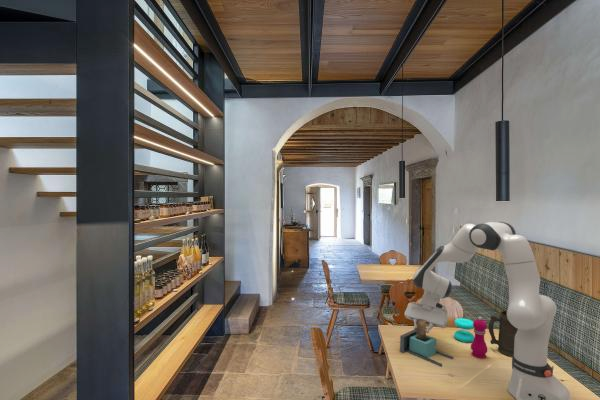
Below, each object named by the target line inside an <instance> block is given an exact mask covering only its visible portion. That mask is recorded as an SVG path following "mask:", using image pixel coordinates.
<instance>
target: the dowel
mask: <svg viewBox="0 0 600 400" xmlns="http://www.w3.org/2000/svg"><path fill="white" fill-rule="evenodd" d="M416 324H417V339H419V340H421V341H424V342H426V335H427V332H425V328H427V324H426V320H423V319H418V320H417V323H416Z"/></svg>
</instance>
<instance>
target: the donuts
mask: <svg viewBox="0 0 600 400" xmlns="http://www.w3.org/2000/svg"><path fill="white" fill-rule="evenodd" d="M473 322H474V321H473V320H471V319H468V318H464V317H460V318H456V319H455V320H454V324H455V326H456V327H458V328H459V329H462V330H457V331H455V332H454V333H453V336H454V338H455V339H456V340H458V341H459V342H463V343H472V342H473V340H474V337H475V334H473V333H472V332H470V330H474V327H473ZM468 330H469V331H468Z"/></svg>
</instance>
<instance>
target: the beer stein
mask: <svg viewBox="0 0 600 400" xmlns="http://www.w3.org/2000/svg"><path fill="white" fill-rule="evenodd" d="M499 313H500V314H499V317H498V316H497V315H494V314H492V315H490V320H489V323H488V324H487V329H488V332H489V335H490V338H491V339H490V344H491V345H497V346H498V347H497V350H498V352H499V353H501V354H502V355H503V356H507V357H510V358H513V355H514V339H515V335H516V333H517V330H518V328H516V327H514V326H513V325H512V324H511V323H510V322H509V320H508V318H507V310H501V312H499ZM495 322H499V325H498V326H499V328H498V339H496V336H495V331H494V323H495Z"/></svg>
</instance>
